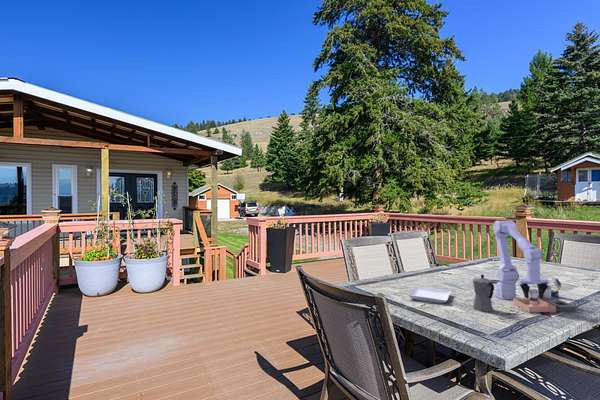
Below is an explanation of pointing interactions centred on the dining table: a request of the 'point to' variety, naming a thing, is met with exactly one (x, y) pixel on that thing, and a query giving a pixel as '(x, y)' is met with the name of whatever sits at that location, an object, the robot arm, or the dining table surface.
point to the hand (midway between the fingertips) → (533, 297)
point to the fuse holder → (560, 304)
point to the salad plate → (430, 294)
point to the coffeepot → (483, 294)
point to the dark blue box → (558, 284)
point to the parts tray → (541, 306)
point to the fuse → (547, 293)
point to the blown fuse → (533, 297)
